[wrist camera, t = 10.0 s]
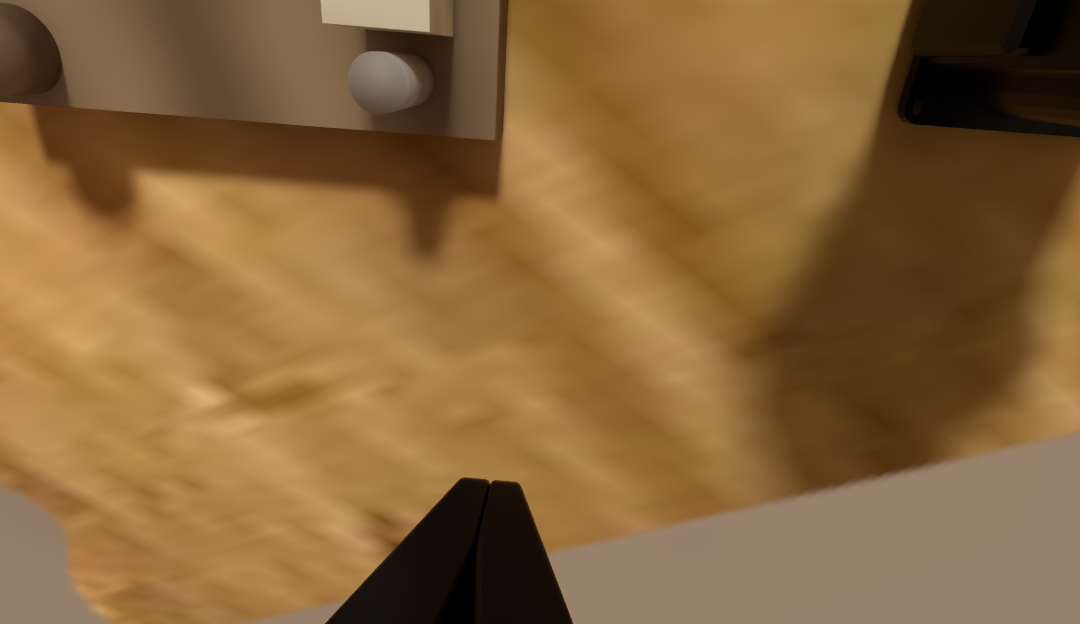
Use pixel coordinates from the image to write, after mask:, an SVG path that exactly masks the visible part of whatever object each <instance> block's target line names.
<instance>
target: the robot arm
mask: <svg viewBox="0 0 1080 624" xmlns="http://www.w3.org/2000/svg"><path fill="white" fill-rule="evenodd" d="M912 49H913V51H914V53H915V54H914V57H913V60H912V63H911V67H910V70H909V73H908V76H907V79H906V82H905V86H904V89H903V92H902V95H901V98H900V101H899V105H898V115H899V118H900V119H901V120H902V121H903V122H907V123H910V124H916V125H928V126H941V127H954V128H968V129H981V130H994V131H1007V132H1020V133H1033V134H1046V135H1059V136H1072V137H1080V0H926V2H925V5H924V8H923V11H922V14H921V18H920V21H919V24H918V27H917V30H916V34H915V37H914V40H913V43H912ZM920 99H922V101H923V102H924V103H923V108H922V110H921V111H920V112H919V113H918V114H914V112H913V106H914V105H915V103H916V102H917V101H918V100H920ZM325 624H573V623H572V619H571V617H570V614H569V611H568V609H567V606H566V603H565V601H564V599H563V596H562V593H561V590H560V588H559V585H558V582H557V580H556V577H555V574H554V572H553V569H552V567H551V564H550V561H549V559H548V556H547V553H546V551H545V548H544V545H543V543H542V540H541V538H540V535H539V532H538V530H537V527H536V524H535V522H534V519H533V516H532V514H531V511H530V509H529V506H528V503H527V501H526V498H525V495H524V493H523V490H522V488H521V486H520V484H519V483H517V482H510V481H499V480H494V481H492V482H491V484H490V483H489V481H488V480H486V479H477V478H466V477H465V478H461V479H460V480H458V482H457V483H456V484H455V485H454V486H453V487H452V488H451V489H450V490H449V491H448V492H447V493H446V494H445V495H444V497H443V498H442V499H441V500H440V501H439V502H438V503H437V504H436V505H435V506H434V507H433V508H432V509H431V510H430V512H429V513H428V514H427V515H426V516H425V517H424V518H423V519H422V520H421V521H420V522H419V523H418V524H417V525H416V527H415V528H414V529H413V530H412V531H411V532H410V533H409V534H408V535H407V536H406V537H405V538H404V539H403V541H402V542H401V543H400V544H399V545H398V546H397V547H396V548H395V549H394V550H393V551H392V552H391V553H390V554H389V556H388V557H387V558H386V559H385V560H384V561H383V562H382V563H381V564H380V565H379V566H378V567H377V568H376V569H375V571H374V572H373V573H372V574H371V575H370V576H369V577H368V578H367V579H366V580H365V581H364V582H363V583H362V584H361V586H360V587H359V588H358V589H357V590H356V591H355V592H354V593H353V594H352V595H351V596H350V597H349V598H348V599H347V601H346V602H345V603H344V604H343V605H342V606H341V607H340V608H339V609H338V610H337V611H336V612H335V613H334V614H333V616H332V617H331V618H330V619H329V620H328V621H327V622H326V623H325Z"/></svg>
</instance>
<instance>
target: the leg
mask: <svg viewBox="0 0 1080 624" xmlns="http://www.w3.org/2000/svg"><path fill="white" fill-rule="evenodd" d="M321 12H322V23H326V24H333V25H339V26H346V27H353V28H359V29H368V30H380V31H391V32H403V33H415V34H426V35H438V36H450V37H453V25H454V0H321Z"/></svg>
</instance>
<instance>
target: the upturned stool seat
mask: <svg viewBox="0 0 1080 624" xmlns="http://www.w3.org/2000/svg"><path fill="white" fill-rule="evenodd" d="M507 10H508V0H454V25H453V37H450V36H438V35H426V34H415V33H403V32H391V31H380V30H368V29H359V28H353V27H346V26H339V25H333V24H326V23H322V12H321V0H0V102H9V103H22V104H35V105H47V106H60V107H73V108H86V109H99V110H111V111H124V112H137V113H150V114H163V115H175V116H188V117H201V118H214V119H227V120H239V121H252V122H265V123H278V124H290V125H303V126H316V127H329V128H342V129H354V130H367V131H380V132H393V133H406V134H418V135H431V136H444V137H457V138H470V139H482V140H496V139H497V138H498V137H499V136H500V135H501V134H502V133H503V114H504V88H505V62H506V36H507Z"/></svg>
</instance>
